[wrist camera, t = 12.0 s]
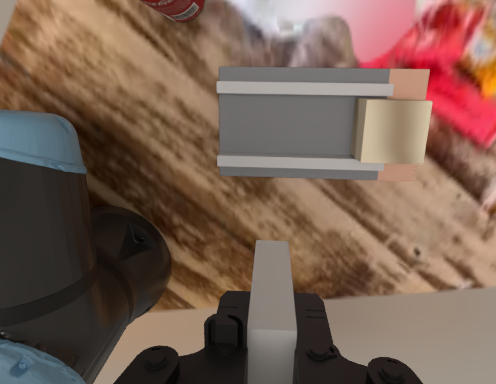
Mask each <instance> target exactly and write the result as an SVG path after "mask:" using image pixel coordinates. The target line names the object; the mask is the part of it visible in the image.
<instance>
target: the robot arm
mask: <svg viewBox="0 0 496 384" xmlns="http://www.w3.org/2000/svg"><path fill="white" fill-rule="evenodd" d="M86 174H87V169H86V167H85V166H84V164H83V160H82V155H81V151H80V146H79V141H78V136H77V132H76V130H75V128H74V126H73V125H72V124H71V123H70V122H69V121H68V120H67V119H65V118H64V117H62V116H59V115H56V114H51V113H43V112H31V111H18V110H3V109H0V384H93V383H94V381H95V379H96V377H97V376H98V374H99V373H100V371H101V369H102V368H103V366H104V364H105V363H106V361H107V359H108V357H109V356H110V354H111V352H112V351H113V349H114V347H115V346H116V344H117V342H118V341H119V339H120V337H121V335H122V334H123V332H124V330H125V329H126V327H127V325H129V324H130V323H131V322H133V321H134V320H135V319H136V318H138V317H140V316H142V315H143V314H145V313H146V312H148V311H149V310H150V309H151V308H152V307H153V306H154V305H155V304H156V303H157V302H158V300H159V299H160V297H161V296H162V294H163V292H164V290H165V288H166V286H167V284H168V281H169V278H170V273H171V259H170V254H169V251H168V248H167V245H166V243H165V241H164V239H163V238H162V236H161V235H160V233H159V232H158V231H157V230H156V228H155V227H154V226H153V225H152V224H151V223H149V222H148V221H147V220H146V219H144V218H143V217H141V216H140V215H138V214H136V213H134V212H132V211H129V210H127V209H123V208H119V207H114V206H98V207H93V208H90V205H89V197H88V190H87V182H86ZM204 335H205V336H204V337H205V347H204V348H203V349H202V350H200V351H198V352H196V353H193V354H189V355H184V356H178V353H177V352H176V351H175V350H174V349H173V348H170V347H168V346H154V347H150V348H148V349H146V350H143V351H142V352H141V353H140V354H138V355H137V356H136V358H135V359H134V360H133V361H132V362H131V363H130V365H129V366H128V367H127V368H126V369H125V370H124V372H123V373H122V374H121V375H120V376H119V378H118V379H117V380H116V381H115V382H114V383H113V384H423V383H422V382H421V381H420V379H419V378H418V377H417V375H416V374H415V373H414V372H413V371H412V370H411V369H410V368H409V367H408V366H407V365H406V364H404V363H402V362H400V361H399V360H396V359H393V358H389V357H378V358H375V359H372V360H371V362H369V363H368V367H367V366H364V365H361V364H357V363H354V362H352V361H349V360H347V359H346V358H344V357H343V356H341V354H340V352H339V350H338V348H337V347H336V346H335V345H333V340H332V336H331V332H330V328H329V323H328V319H327V315H326V312H325V306H324V302H323V301H322V299H321V298H320V297H319V296H318V295H317V294H308V293H293V284H292V274H291V264H290V254H289V244H288V241H269V240H256V248H255V257H254V267H253V276H252V286H251V292H247V291H226V292H225V293H224V294H223V296H222V297H221V298H220V302H219V306H218V310H217V313H216V314H213V315H212V316H210V317H209V318H207V320H206V321H205V323H204Z"/></svg>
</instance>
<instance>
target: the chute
mask: <svg viewBox="0 0 496 384" xmlns="http://www.w3.org/2000/svg"><path fill="white" fill-rule="evenodd" d="M429 71H430V69H365V68H288V67H219V81H217V93H219V138H220V153H219V154H218V155H217V166H220V176H253V177H287V178H320V179H354V180H387V181H414V174H415V167H416V164H391V163H360V162H359V161H358V160H357V159H356V158H355V157H354V156H353V155H352V154H350V152H351V141H352V131H353V120H354V110H355V99H356V98H386V99H418V100H425V99H426V92H427V85H428V78H429Z"/></svg>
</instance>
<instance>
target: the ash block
mask: <svg viewBox="0 0 496 384" xmlns="http://www.w3.org/2000/svg"><path fill="white" fill-rule="evenodd" d="M432 102H433V101H427V100H418V99H386V98H356V99H355V110H354V120H353V131H352V141H351V152H350V154H352V155H353V156H354V157H355V158H356V159H357V160H358V161H359V162H360V163H391V164H423V161H424V155H425V148H426V141H427V135H428V128H429V122H430V115H431V109H432Z"/></svg>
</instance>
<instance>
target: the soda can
mask: <svg viewBox="0 0 496 384" xmlns="http://www.w3.org/2000/svg"><path fill="white" fill-rule="evenodd" d="M140 1H142V2H144V3H145V4H147V5H148V6H150V7H151V8H153V9H155V10H156V11H158V12H159V13H161V14H163V15H164V16H166V17H167V18H169V19H171V20H173V21H177V22H186V21H189V20H192V19H193V18H195V17H196V16H197V15H198V14H199V13H200V11H201V10H202V8H203V6H204V2H205V0H140Z"/></svg>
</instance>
